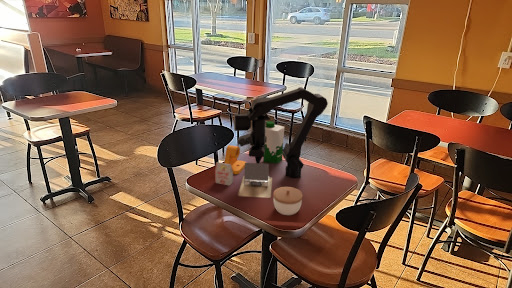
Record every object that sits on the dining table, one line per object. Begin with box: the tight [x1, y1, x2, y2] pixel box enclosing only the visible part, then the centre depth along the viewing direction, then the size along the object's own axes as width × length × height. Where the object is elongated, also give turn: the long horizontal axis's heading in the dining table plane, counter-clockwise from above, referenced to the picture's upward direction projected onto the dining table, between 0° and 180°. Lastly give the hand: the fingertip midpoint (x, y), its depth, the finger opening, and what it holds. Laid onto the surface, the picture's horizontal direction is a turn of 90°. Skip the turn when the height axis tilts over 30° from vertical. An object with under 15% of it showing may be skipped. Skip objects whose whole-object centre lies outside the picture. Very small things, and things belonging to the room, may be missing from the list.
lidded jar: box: [272, 186, 303, 216], centre depth 120 cm, size 11×11×9 cm
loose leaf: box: [243, 162, 270, 186], centre depth 137 cm, size 10×10×2 cm
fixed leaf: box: [244, 175, 270, 187], centre depth 140 cm, size 10×10×2 cm
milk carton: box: [262, 120, 285, 164], centre depth 159 cm, size 9×9×20 cm
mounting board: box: [237, 175, 273, 199], centre depth 138 cm, size 13×17×1 cm
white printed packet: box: [214, 161, 234, 186], centre depth 139 cm, size 4×7×10 cm, turn 70°
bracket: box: [224, 144, 248, 175], centre depth 151 cm, size 11×7×12 cm, turn 160°
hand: (257, 163), depth 142 cm, fingers closed
